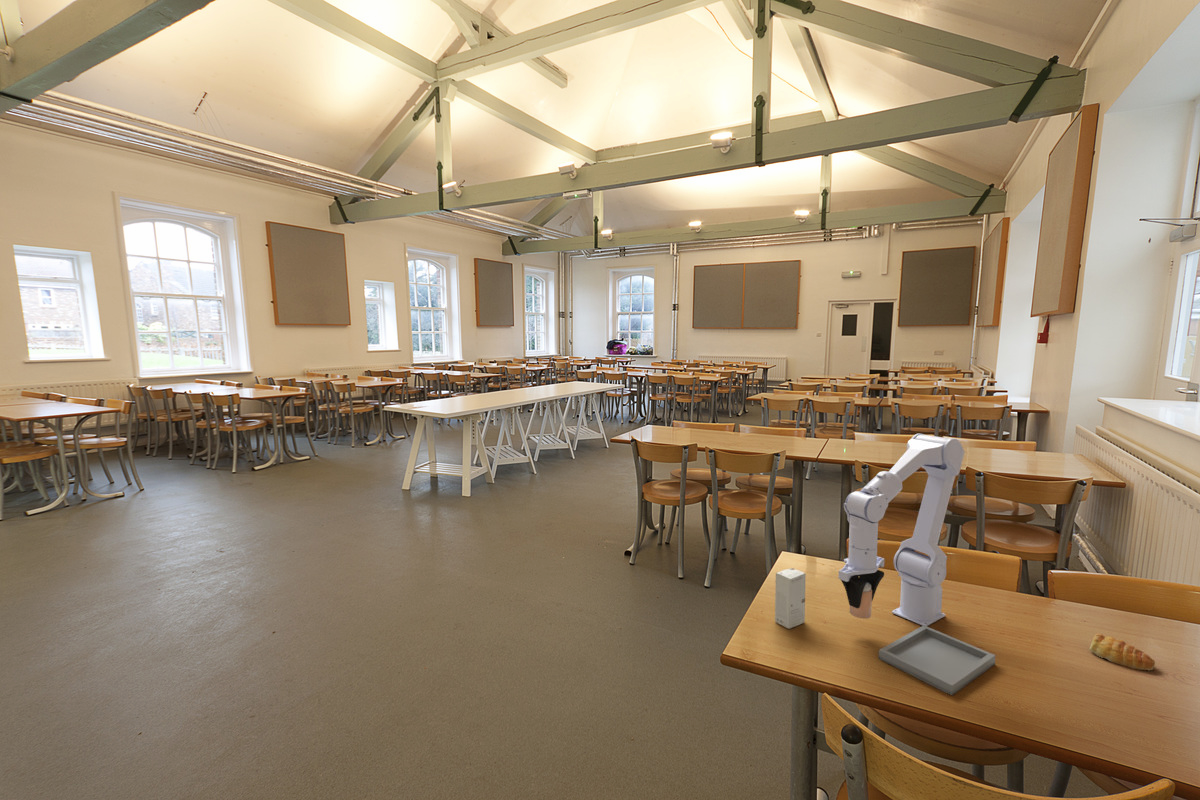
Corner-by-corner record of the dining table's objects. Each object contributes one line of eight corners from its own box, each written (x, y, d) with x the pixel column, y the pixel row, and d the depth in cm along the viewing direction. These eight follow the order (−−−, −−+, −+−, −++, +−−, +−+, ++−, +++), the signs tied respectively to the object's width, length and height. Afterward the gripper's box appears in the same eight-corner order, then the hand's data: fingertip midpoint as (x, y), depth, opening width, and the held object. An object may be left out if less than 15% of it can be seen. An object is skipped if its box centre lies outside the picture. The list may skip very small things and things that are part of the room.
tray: (923, 633, 120) (923, 625, 120) (994, 664, 108) (995, 655, 108) (878, 658, 110) (879, 649, 110) (951, 695, 99) (952, 685, 98)
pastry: (1157, 665, 108) (1159, 647, 107) (1149, 677, 104) (1151, 659, 104) (1096, 644, 115) (1097, 628, 115) (1086, 655, 112) (1088, 638, 111)
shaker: (856, 607, 123) (857, 578, 122) (875, 615, 119) (876, 585, 119) (845, 612, 121) (846, 582, 120) (863, 620, 117) (865, 590, 116)
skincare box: (789, 629, 122) (790, 579, 121) (773, 621, 126) (774, 572, 125) (805, 622, 126) (807, 573, 124) (789, 614, 129) (791, 566, 128)
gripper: (864, 533, 126) (862, 588, 127) (827, 546, 118) (825, 604, 119) (894, 542, 120) (891, 600, 121) (856, 557, 112) (854, 618, 113)
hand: (860, 603), depth 120 cm, fingers closed on shaker, 4 cm apart
